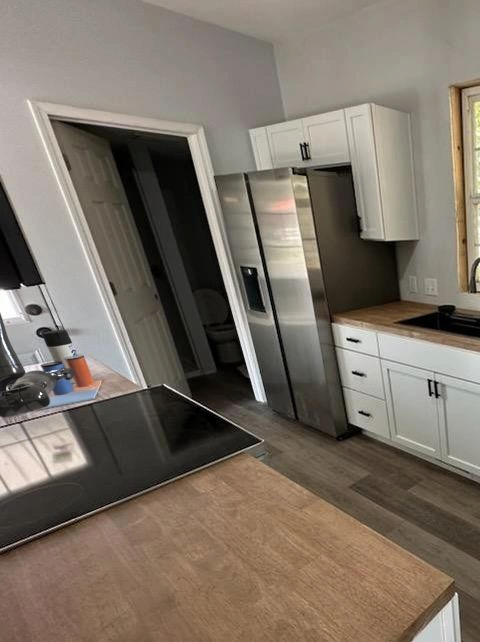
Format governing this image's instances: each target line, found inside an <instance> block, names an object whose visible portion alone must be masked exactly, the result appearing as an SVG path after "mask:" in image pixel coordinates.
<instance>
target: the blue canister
mask: <svg viewBox="0 0 480 642" xmlns="http://www.w3.org/2000/svg"><path fill="white" fill-rule="evenodd" d="M63 367H64V366H63V364H62V361H55V362H54V361H50V362H45V363H41V364H40V368H41V369H42V371H44V372H49V371H53V370H60V369H61V368H63ZM52 374H53V373H52ZM60 375H62V374H61V372H60ZM72 385H73V384H71V382H70V380H66V379H65V378H62V380H60V381H57V382H56V385H55V387H54V389H53V390H52V391H53V393H54V395H63V394H68V393H71V392H73V391H74V389H73V387H72Z"/></svg>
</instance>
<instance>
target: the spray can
mask: <svg viewBox="0 0 480 642" xmlns="http://www.w3.org/2000/svg"><path fill="white" fill-rule="evenodd" d="M41 336H42V338H43V341H44V343H45V345H46V348H47V350H48V352H49V354H50V356H51V358H52V360H53V362H55V361H62V364H63V366H64V368H67V369H68V366H67V364H66V361H65V360H64V358H66V357H69V356H74V355H78V352H77V350H76V348H75V346H74V344H73V341H72V339H71V337H70V334H69V333H68V331H67V329H56V330H49V331H44V332H43V333H41ZM70 382H71V384H72V385H75V382H74V380H73V378H72V379H70Z"/></svg>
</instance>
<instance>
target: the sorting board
mask: <svg viewBox="0 0 480 642" xmlns="http://www.w3.org/2000/svg"><path fill="white" fill-rule="evenodd" d="M94 382H95V384H93V385H90V386H85V387H77V386H76V384H72V387H73V389H74V391H73V392H71V393H68V394H63V395H54V393H53V391H51V393H50V394H49V397H50V404H49V405H48V406H47V407H45V408H43V409H41V410H47V409H52V408H57V407H62V406H67V405H73V404H77V403H82V402H87V401H93V400H95V398H96V397H97V394H98V392H99V389H100V387H101V384H102V383H103V381H102V380H96V381H95V380H94ZM41 410H40V411H41Z"/></svg>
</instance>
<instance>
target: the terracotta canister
mask: <svg viewBox="0 0 480 642" xmlns="http://www.w3.org/2000/svg"><path fill="white" fill-rule="evenodd" d="M64 360H65V361H66V364H67V366H68V368H72V369H73V371H74V374H75V376H74V377H73V380H74V382H75V383H74V385H76V386H77V387H85V386H90V385H93V384H95V380H94V377H93V374H92V372H91V370H90V367H89V365H88V363H87V361H86V358H85V355H84V354H77V355H74V356H69V357H66V358H64Z"/></svg>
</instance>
